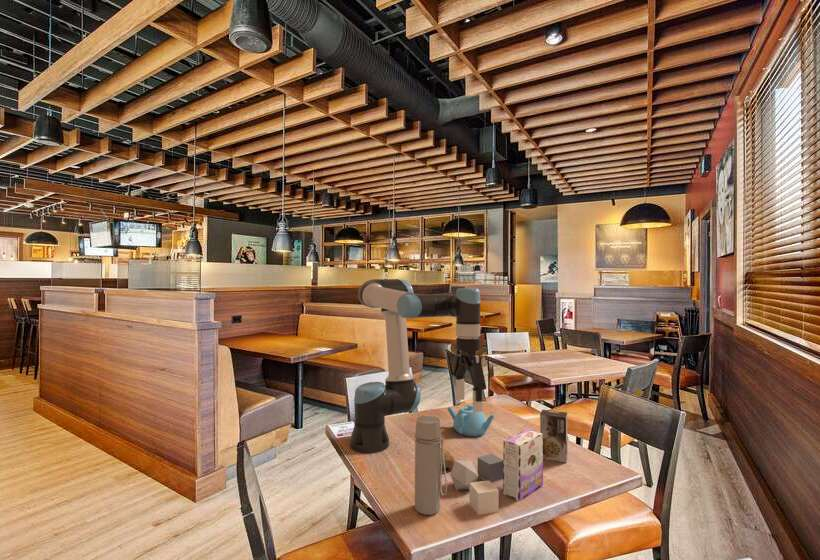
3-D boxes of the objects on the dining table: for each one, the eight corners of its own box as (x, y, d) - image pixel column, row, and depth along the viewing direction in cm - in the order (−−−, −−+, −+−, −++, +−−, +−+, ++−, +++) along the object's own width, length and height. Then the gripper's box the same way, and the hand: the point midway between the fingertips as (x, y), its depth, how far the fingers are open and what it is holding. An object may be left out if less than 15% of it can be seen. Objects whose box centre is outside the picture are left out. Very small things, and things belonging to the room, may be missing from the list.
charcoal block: (477, 475, 134) (477, 457, 134) (491, 471, 137) (491, 453, 137) (489, 483, 129) (489, 464, 129) (504, 479, 132) (504, 460, 132)
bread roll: (430, 485, 135) (436, 467, 132) (417, 460, 143) (422, 443, 140) (456, 478, 140) (462, 461, 137) (441, 455, 148) (447, 438, 145)
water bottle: (410, 514, 112) (410, 422, 112) (419, 499, 119) (420, 413, 119) (442, 521, 109) (443, 426, 109) (450, 506, 116) (450, 417, 116)
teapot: (478, 422, 185) (478, 397, 185) (495, 437, 168) (495, 409, 168) (446, 425, 181) (446, 400, 181) (460, 440, 164) (460, 412, 164)
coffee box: (567, 456, 150) (568, 412, 150) (566, 463, 144) (566, 417, 144) (541, 451, 153) (542, 408, 153) (539, 458, 148) (539, 413, 148)
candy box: (526, 479, 132) (527, 428, 132) (543, 486, 128) (543, 433, 128) (502, 494, 123) (502, 439, 123) (519, 502, 118) (519, 445, 118)
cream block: (469, 503, 117) (469, 482, 117) (488, 501, 119) (488, 480, 119) (478, 515, 112) (478, 493, 112) (498, 512, 113) (498, 490, 113)
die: (470, 499, 121) (486, 469, 124) (445, 482, 122) (461, 453, 125) (466, 496, 128) (481, 467, 131) (442, 480, 130) (457, 452, 133)
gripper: (497, 342, 117) (498, 416, 117) (464, 332, 141) (464, 394, 141) (473, 343, 115) (473, 418, 115) (443, 333, 139) (443, 395, 139)
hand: (468, 405), depth 128 cm, fingers open, 13 cm apart
